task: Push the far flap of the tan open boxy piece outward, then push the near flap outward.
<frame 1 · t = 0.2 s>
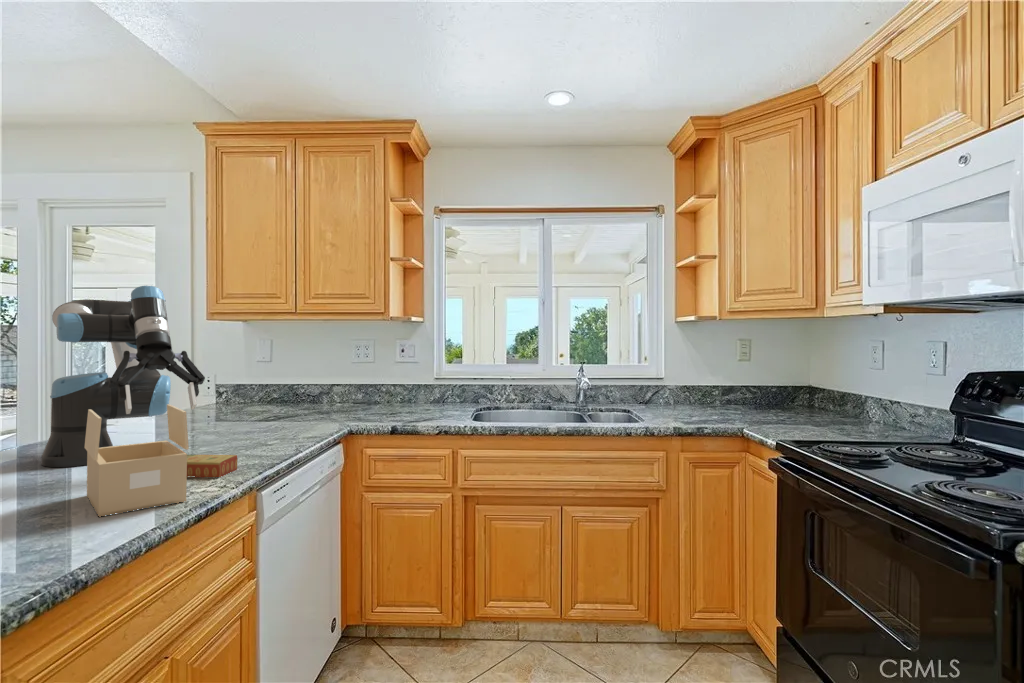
hand: (162, 409, 130), 16 cm above the worktop, tool tilted 35°, fingers open, 13 cm apart
tan open boxy piece: (135, 498, 110), on the worktop
far flap: (177, 425, 115), point 15 cm above the worktop, hinge at 86.0°
near flap: (92, 433, 105), point 15 cm above the worktop, hinge at 86.0°
carton: (197, 475, 132), on the worktop
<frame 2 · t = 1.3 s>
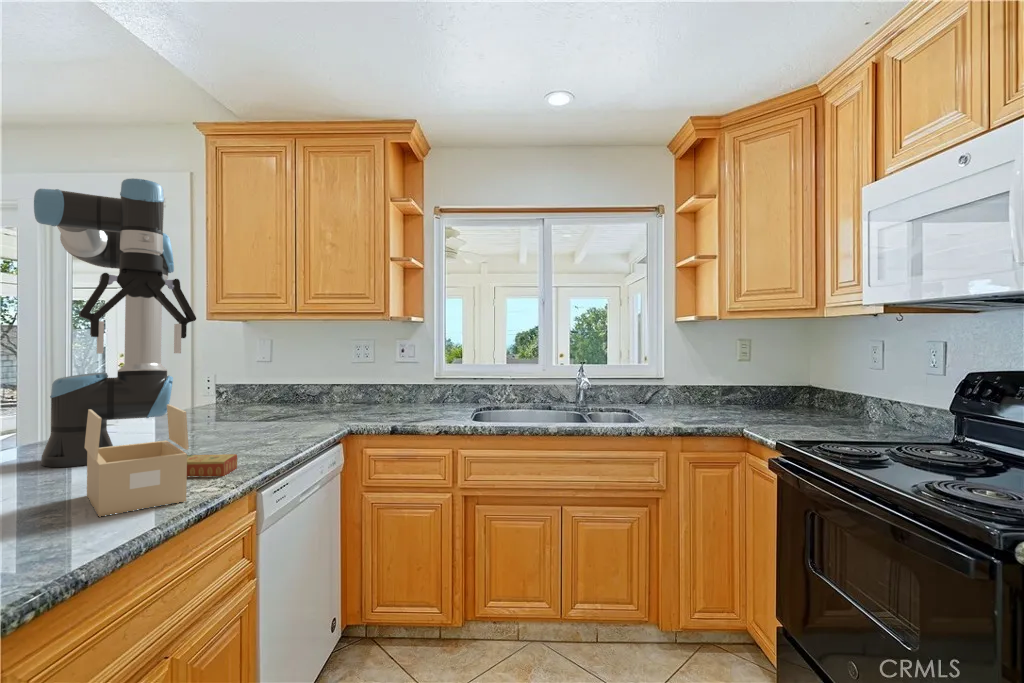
hand: (140, 353, 111), 31 cm above the worktop, tool pointing down, fingers open, 13 cm apart
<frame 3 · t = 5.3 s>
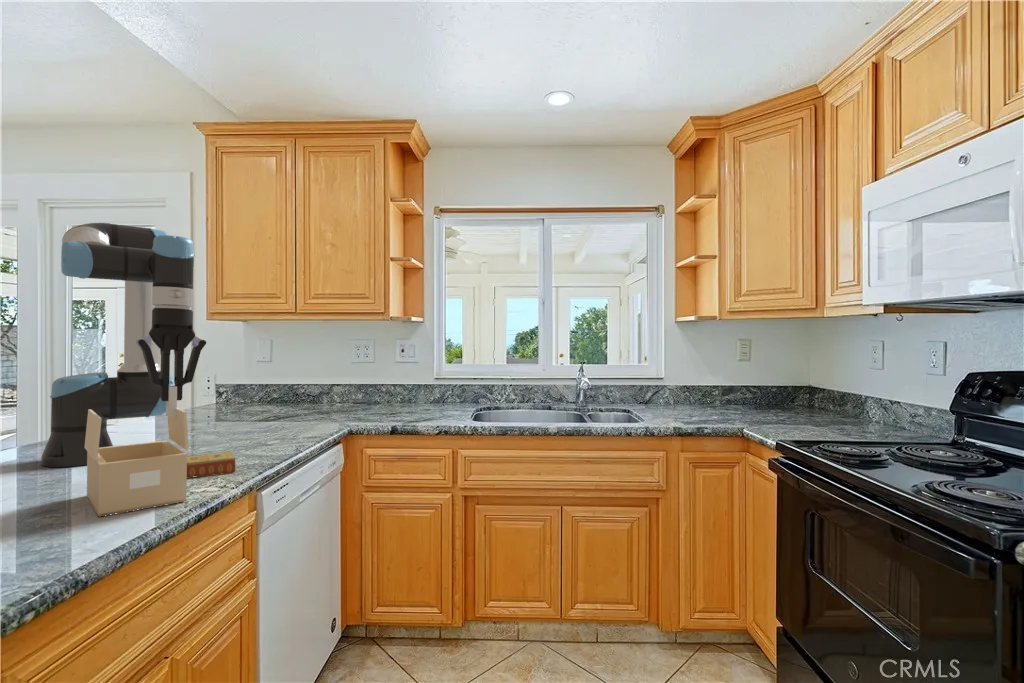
hand: (171, 415, 115), 17 cm above the worktop, tool pointing down, fingers closed
far flap: (177, 425, 115), point 15 cm above the worktop, hinge at 86.0°, touching gripper
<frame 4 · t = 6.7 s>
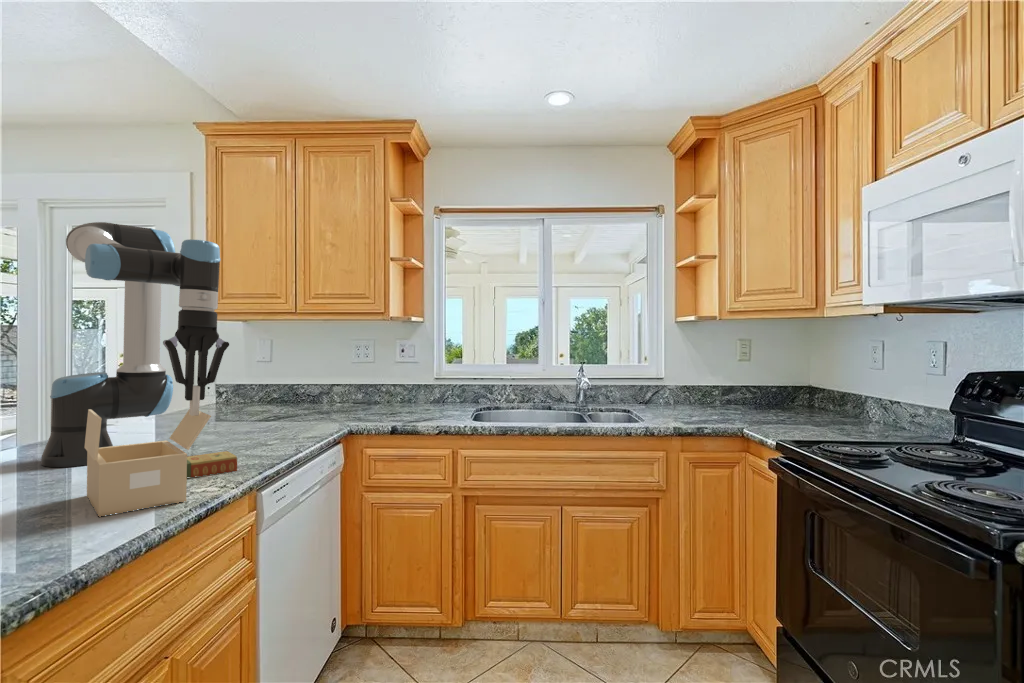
hand: (194, 414, 118), 17 cm above the worktop, tool pointing down, fingers closed
far flap: (189, 427, 117), point 14 cm above the worktop, hinge at 121.8°, touching gripper
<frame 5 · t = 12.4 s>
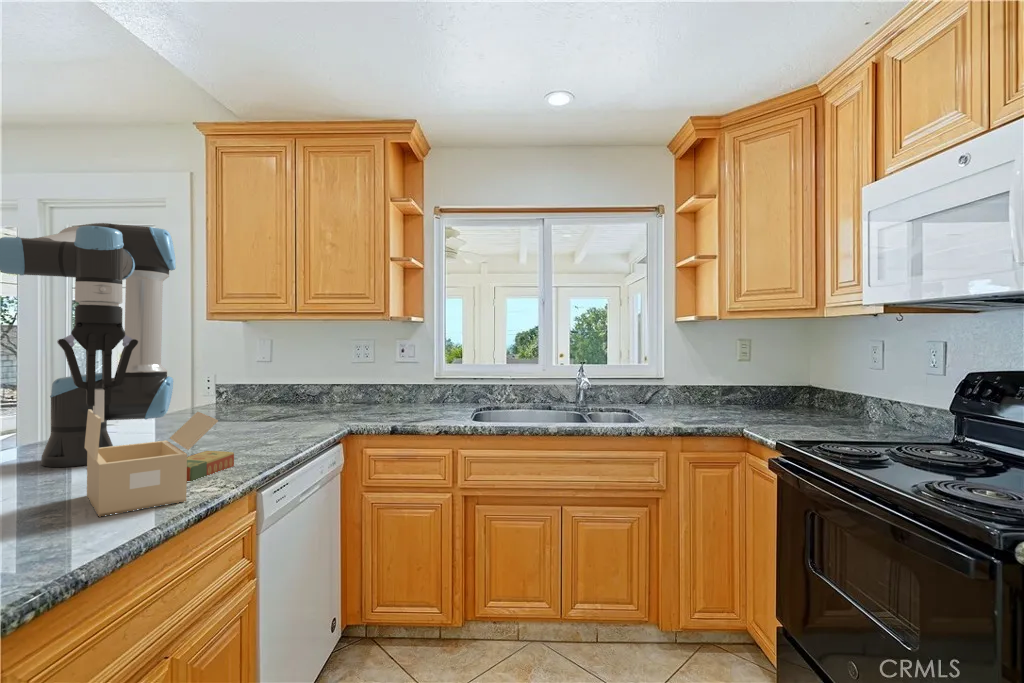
hand: (98, 421, 106), 17 cm above the worktop, tool pointing down, fingers closed
far flap: (193, 429, 118), point 13 cm above the worktop, hinge at 135.1°
near flap: (92, 433, 105), point 15 cm above the worktop, hinge at 86.3°, touching gripper
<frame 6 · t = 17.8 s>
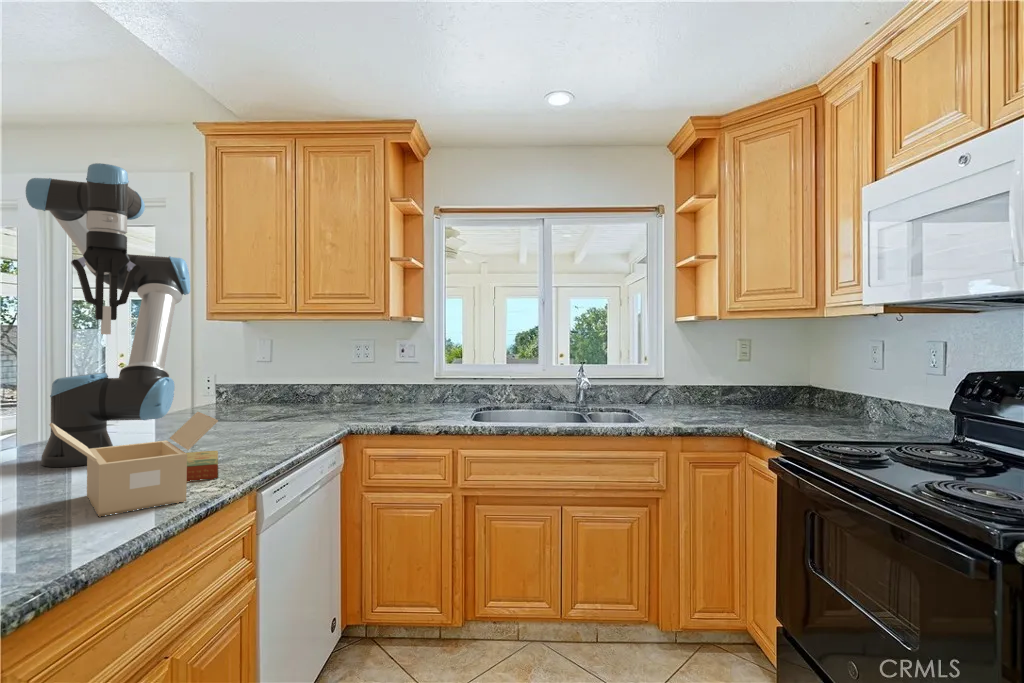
hand: (105, 334, 122), 34 cm above the worktop, tool pointing down, fingers closed
near flap: (72, 441, 103), point 13 cm above the worktop, hinge at 135.1°
at the end: far flap at +135° (first picture: +86°); near flap at +135° (first picture: +86°) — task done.
